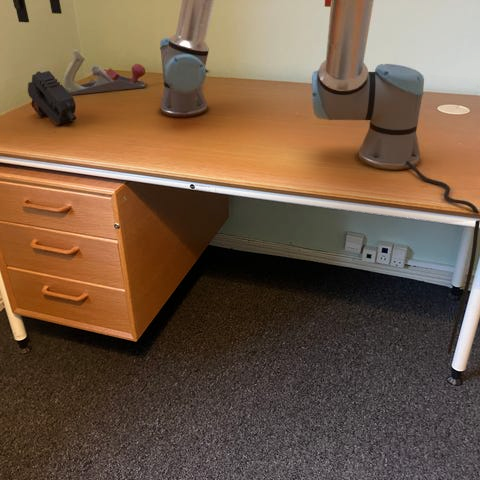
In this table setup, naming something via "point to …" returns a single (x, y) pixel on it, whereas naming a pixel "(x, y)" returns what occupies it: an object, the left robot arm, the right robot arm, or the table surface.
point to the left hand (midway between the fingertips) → (41, 17)
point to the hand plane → (100, 78)
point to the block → (327, 3)
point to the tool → (51, 98)
